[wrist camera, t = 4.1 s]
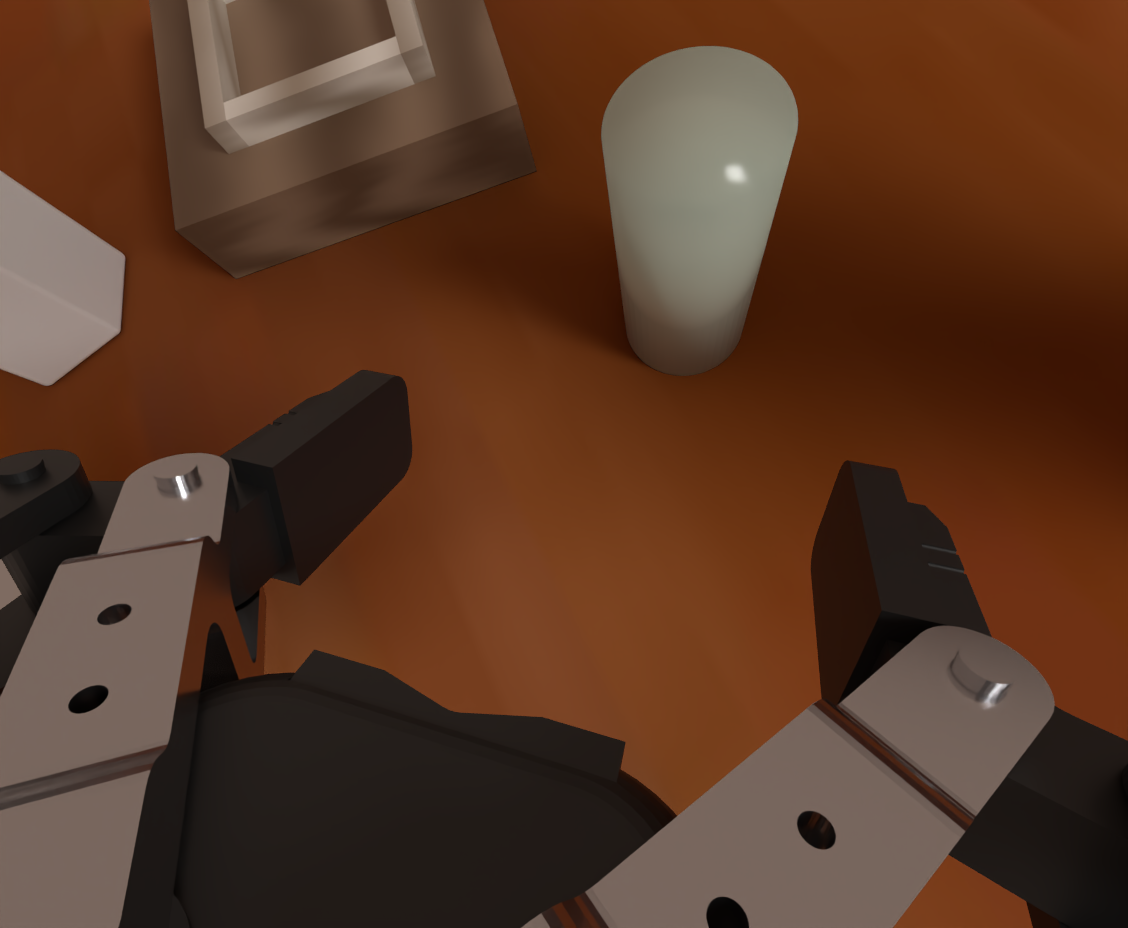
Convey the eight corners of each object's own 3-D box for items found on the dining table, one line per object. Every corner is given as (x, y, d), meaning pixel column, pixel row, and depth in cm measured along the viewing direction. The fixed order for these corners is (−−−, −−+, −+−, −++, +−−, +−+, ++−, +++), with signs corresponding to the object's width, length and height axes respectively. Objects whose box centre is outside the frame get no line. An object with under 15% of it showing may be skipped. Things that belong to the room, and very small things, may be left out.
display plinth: (462, -56, 34) (425, -180, 29) (536, 171, 29) (508, 73, 24) (202, 46, 35) (121, -54, 30) (236, 278, 31) (147, 208, 25)
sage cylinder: (719, 255, 27) (756, 20, 16) (760, 353, 25) (829, 167, 15) (611, 292, 27) (578, 85, 17) (645, 391, 26) (633, 234, 15)
